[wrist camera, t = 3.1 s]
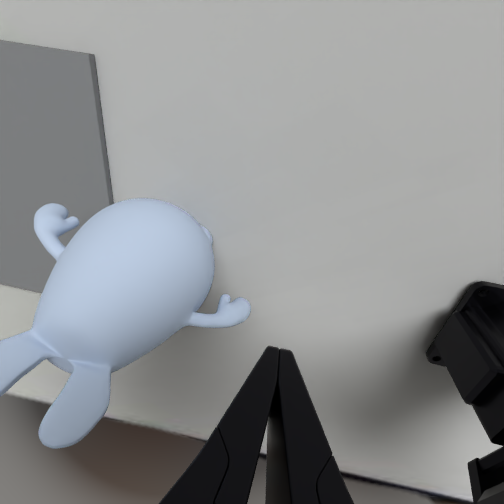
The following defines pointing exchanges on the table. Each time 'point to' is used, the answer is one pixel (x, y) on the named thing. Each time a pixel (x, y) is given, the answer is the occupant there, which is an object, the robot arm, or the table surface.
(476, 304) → the robot arm
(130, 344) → the toy figure
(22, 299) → the table surface
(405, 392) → the table surface
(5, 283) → the mat
